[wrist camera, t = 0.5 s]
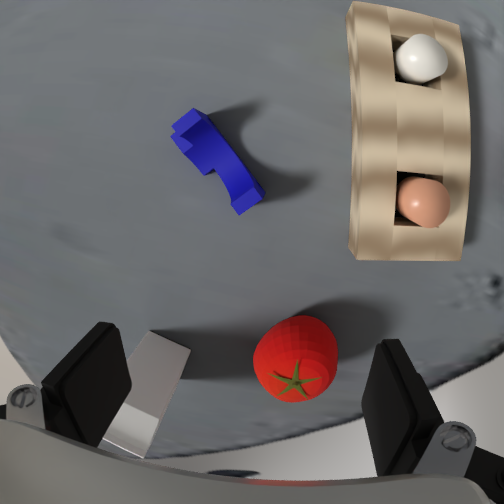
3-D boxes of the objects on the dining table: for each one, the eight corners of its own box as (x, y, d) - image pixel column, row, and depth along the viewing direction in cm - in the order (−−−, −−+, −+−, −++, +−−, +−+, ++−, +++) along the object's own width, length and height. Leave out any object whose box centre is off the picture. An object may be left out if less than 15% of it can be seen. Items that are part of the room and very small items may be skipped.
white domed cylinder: (390, 43, 27) (404, 29, 23) (427, 51, 27) (444, 39, 22) (393, 81, 29) (409, 71, 24) (431, 88, 28) (450, 80, 24)
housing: (345, 17, 29) (352, 0, 25) (442, 36, 28) (458, 25, 23) (348, 247, 38) (356, 259, 33) (443, 249, 37) (460, 260, 32)
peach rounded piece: (395, 174, 32) (411, 177, 27) (432, 178, 31) (451, 182, 27) (392, 218, 33) (407, 227, 29) (429, 219, 33) (447, 229, 28)
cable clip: (178, 137, 36) (160, 135, 31) (206, 114, 35) (193, 107, 29) (235, 213, 38) (227, 223, 33) (265, 192, 37) (262, 198, 32)
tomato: (348, 323, 41) (364, 371, 31) (306, 375, 44) (310, 426, 34) (283, 289, 41) (283, 332, 30) (245, 346, 44) (235, 396, 33)
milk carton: (148, 329, 45) (89, 414, 27) (191, 349, 45) (148, 444, 27) (140, 361, 47) (87, 443, 29) (179, 379, 47) (139, 469, 29)
